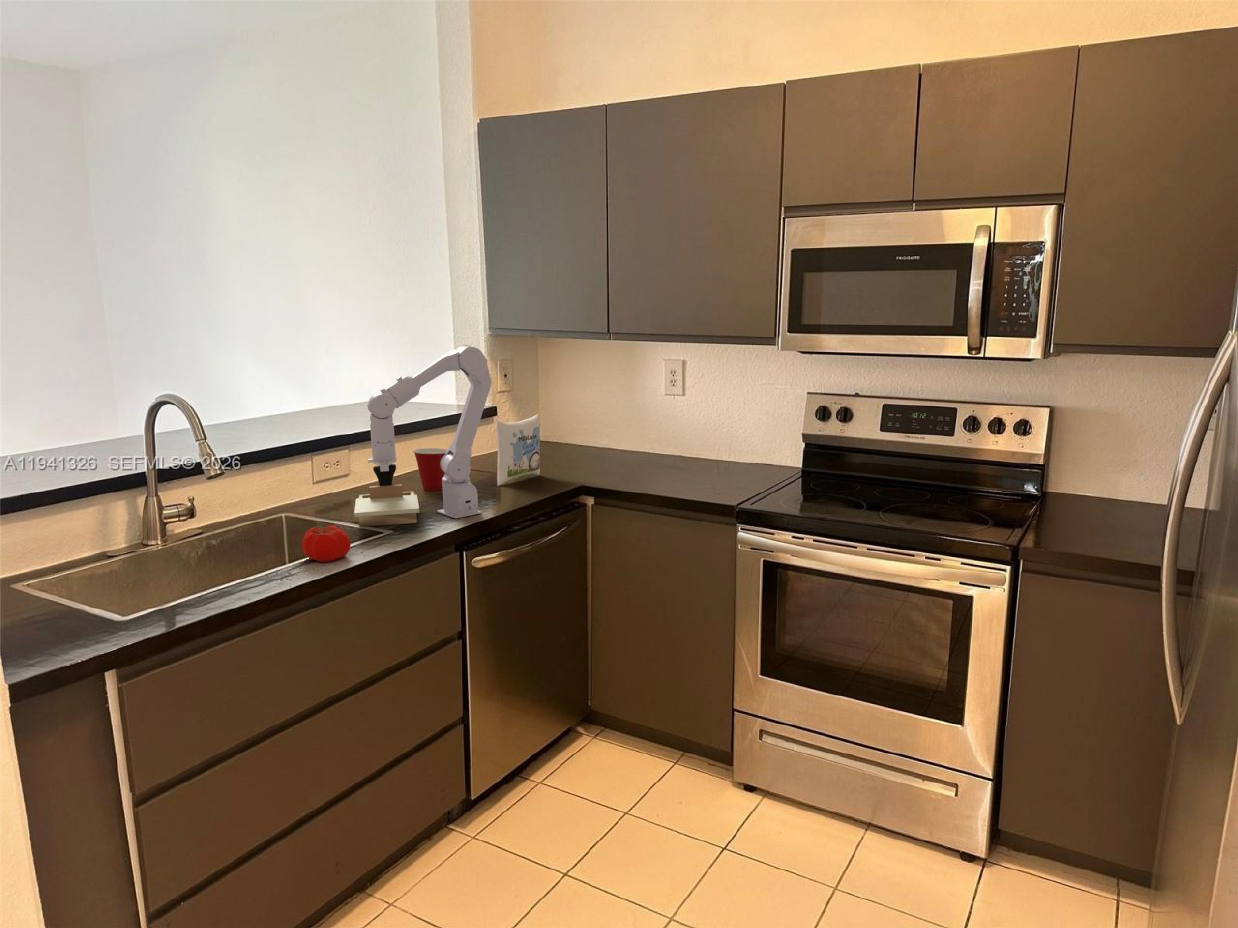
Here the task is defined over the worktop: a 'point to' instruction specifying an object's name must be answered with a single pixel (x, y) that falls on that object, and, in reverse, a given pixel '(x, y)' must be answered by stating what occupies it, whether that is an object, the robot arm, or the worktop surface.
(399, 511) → the lid
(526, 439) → the pouch
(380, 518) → the storage box
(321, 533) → the tomato
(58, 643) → the worktop surface
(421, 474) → the plastic cup
